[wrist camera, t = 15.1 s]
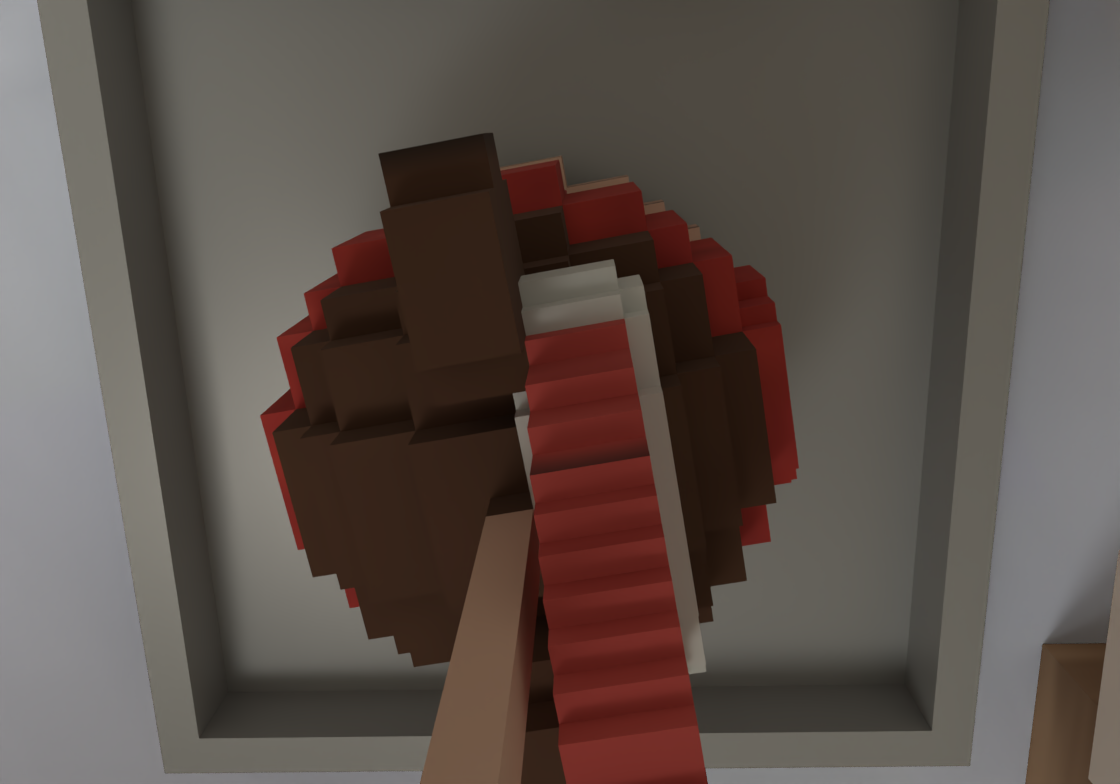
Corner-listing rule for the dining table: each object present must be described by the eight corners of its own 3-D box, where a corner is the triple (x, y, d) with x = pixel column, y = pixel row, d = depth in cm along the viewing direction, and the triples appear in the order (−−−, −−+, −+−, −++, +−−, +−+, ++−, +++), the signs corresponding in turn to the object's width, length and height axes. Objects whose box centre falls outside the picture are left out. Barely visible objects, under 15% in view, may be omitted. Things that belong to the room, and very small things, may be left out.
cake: (299, 174, 22) (-829, 365, 4) (704, 95, 21) (1281, -47, 4) (404, 590, 24) (-29, 1714, 7) (765, 532, 24) (1253, 1620, 6)
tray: (209, 703, 27) (164, 773, 24) (96, -74, 21) (19, -106, 18) (927, 694, 26) (969, 765, 23) (996, -107, 21) (1064, -144, 18)
